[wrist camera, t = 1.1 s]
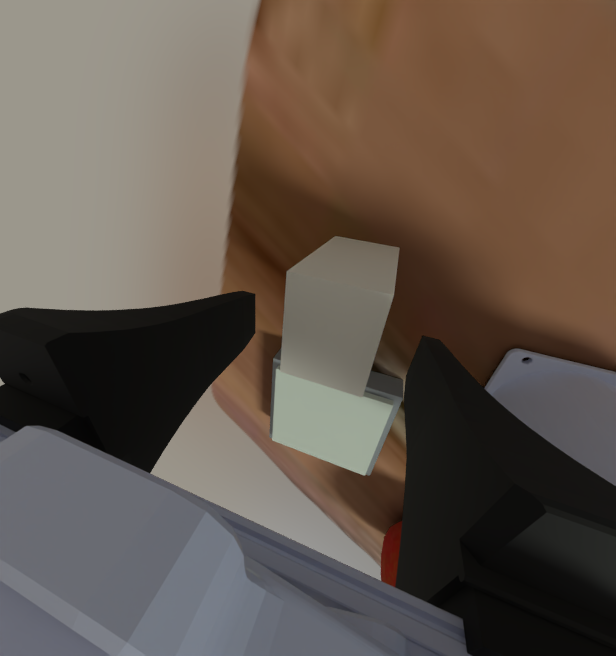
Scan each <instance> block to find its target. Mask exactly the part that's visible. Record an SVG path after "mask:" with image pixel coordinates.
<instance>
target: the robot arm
mask: <svg viewBox="0 0 616 656" xmlns="http://www.w3.org/2000/svg"><path fill="white" fill-rule="evenodd" d="M254 334H255V294H253V293H249V292H245V291H238V292H232V293H227V294H222V295H217V296H213V297H209V298H204V299H200V300H195V301H190V302H185V303H179V304H174V305H168V306H160V307H153V308H143V309H127V310H109V311H108V310H106V311H105V310H104V311H103V310H102V311H84V310H55V309H38V308H37V309H36V308H18V309H13V310H10V311H7V312H4V313H1V314H0V378H1V379H2V381H3V382H4V383H5V384H4V385H2V386H0V656H616V372H614V371H610V370H605V369H601V368H597V367H593V366H589V365H585V364H581V363H576V362H572V361H568V360H564V359H560V358H556V357H552V356H548V355H543V354H539V353H535V352H531V351H527V350H523V349H512V350H510V351H508V352H507V353H506V355H505V357H504V358H503V360H502V361H501V363H500V364H499V366H498V367H497V369H496V371H495V372H494V374H493V375H492V377H491V378H490V380H489V381H488V383H487V385H486V386H485V388H483V387H482V386H481V385H480V384H479V383H478V382H477V381H476V380H475V379H474V378H473V377H472V375H471V374H470V373H469V372H468V371H467V370H466V369H465V368H464V367H463V366H462V365H461V363H460V362H459V361H458V360H457V359H456V358H455V357H454V355H453V354H452V353H451V352H450V351H449V350H448V349H447V347H446V346H445V345H444V344H443V343H442V342H441V341H440V340H438V339H434V338H430V337H426V336H422V338H421V341H420V343H419V345H418V348H417V350H416V353H415V355H414V358H413V360H412V363H411V365H410V367H409V370H408V372H407V375H406V382H405V392H404V407H405V427H406V446H407V462H406V478H405V493H404V506H403V518H402V528H401V539H400V549H399V558H398V567H397V576H396V584H395V587H393V586H391V585H389V584H386V583H384V582H382V581H380V580H378V579H376V578H373V577H371V576H369V575H367V574H365V573H362V572H360V571H358V570H356V569H354V568H352V567H350V566H348V565H345V564H343V563H341V562H339V561H337V560H335V559H332V558H330V557H328V556H326V555H324V554H322V553H319V552H317V551H315V550H313V549H311V548H309V547H307V546H305V545H302V544H300V543H298V542H296V541H294V540H292V539H289V538H287V537H285V536H283V535H281V534H279V533H277V532H274V531H272V530H270V529H268V528H266V527H264V526H261V525H259V524H257V523H255V522H253V521H251V520H249V519H246V518H244V517H242V516H240V515H238V514H236V513H233V512H231V511H229V510H227V509H225V508H223V507H221V506H218V505H216V504H214V503H212V502H210V501H208V500H205V499H203V498H201V497H199V496H197V495H195V494H193V493H190V492H188V491H186V490H184V489H182V488H180V487H178V486H176V485H174V484H171V483H169V482H167V481H165V480H163V479H161V478H158V477H156V476H154V475H152V474H150V472H151V471H152V469H153V467H154V466H155V464H156V462H157V461H158V459H159V458H160V456H161V454H162V452H163V451H164V449H165V448H166V446H167V445H168V443H169V442H170V440H171V438H172V437H173V436H174V434H175V433H176V431H177V429H178V428H179V426H180V425H181V424H182V422H183V420H184V419H185V418H186V416H187V415H188V414H189V412H190V411H191V409H192V408H193V407H194V405H195V404H196V403H197V401H198V400H199V399H200V397H201V396H202V395H203V393H204V392H205V391H206V389H207V388H208V387H209V386H210V385H211V384H212V383H213V381H214V380H215V379H216V378H217V377H218V376H219V375H220V374H221V373H222V372H223V371H224V370H225V369H226V368H227V367H228V366H229V365H230V363H231V362H232V361H233V360H234V359H235V358H236V357H237V356H238V355H239V354H240V353H241V352H242V351H243V349H244V348H245V347H246V346H247V344H248V343H249V341H250V340H251V338H252V337H253V335H254ZM525 357H530V358H529V359H528V360H525V361H522V359H523V358H525Z"/></svg>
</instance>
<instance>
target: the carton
mask: <svg viewBox="0 0 616 656" xmlns="http://www.w3.org/2000/svg"><path fill="white" fill-rule="evenodd" d="M399 249H400V248H399V247H394V246H388V245H383V244H377V243H372V242H366V241H361V240H355V239H350V238H344V237H339V236H335V237H333V238H332V239H331V240H329V241H328V242H326V243H325V244H324V245H322V246H321V247H320V248H318V249H317V250H315V251H314V252H313V253H311V254H310V255H308V256H307V257H306V258H304V259H303V260H302V261H300V262H299V263H297V264H296V265H295V266H293V267H292V268H290V269H289V270H288V271H287V274H286V289H285V304H284V319H283V334H282V349H281V364H280V372H283V373H286V374H289V375H292V376H295V377H299V378H302V379H305V380H308V381H311V382H314V383H317V384H321V385H324V386H327V387H330V388H333V389H336V390H339V391H342V392H346V393H349V394H352V395H355V396H358V397H361V398H362V397H363V394H364V391H365V388H366V384H367V381H368V378H369V375H370V371H371V368H372V365H373V362H374V358H375V355H376V352H377V349H378V345H379V342H380V339H381V336H382V332H383V329H384V326H385V323H386V320H387V316H388V313H389V310H390V307H391V303H392V300H393V297H394V291H395V283H396V274H397V266H398V258H399Z"/></svg>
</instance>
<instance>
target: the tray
mask: <svg viewBox="0 0 616 656" xmlns="http://www.w3.org/2000/svg"><path fill="white" fill-rule="evenodd" d="M281 349H282V347H281ZM281 349H280V350H279V351H278V353H277V354H276V355H275V357H274V358H273V374H272V395H271V417H270V438H272V440H273V441H275V442H278V443H281V444H283V445H286V446H288V447H291V448H294V449H296V450H299V451H301V452H304V453H307V454H309V455H312V456H314V457H317V458H320V459H322V460H325V461H327V462H330V463H333V464H335V465H338V466H340V467H343V468H346V469H348V470H351V471H353V472H356V473H359V474H361V475H364V476H365V474H366V475H369V476H370V474H371V472H372V469H373V467H374V465H375V462H376V460H377V458H378V455H379V453H380V451H381V448H382V446H383V444H384V441H385V439H386V437H387V434H388V432H389V430H390V427H391V425H392V422H393V420H394V418H395V415H396V413H397V411H398V408H399V406H400V404H401V401H402V399H403V380H401V379H398V378H395V377H391V376H388V375H384V374H381V373H377V372H374V371H370V375H369V378H368V381H367V384H366V388H365V391H364V394H363V397H362V398H361V397H358V396H355V395H352V394H349V393H346V392H342V391H339V390H336V389H333V388H330V387H327V386H324V385H321V384H317V383H314V382H311V381H308V380H305V379H302V378H299V377H295V376H292V375H289V374H286V373H283V372H280V364H281Z"/></svg>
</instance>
